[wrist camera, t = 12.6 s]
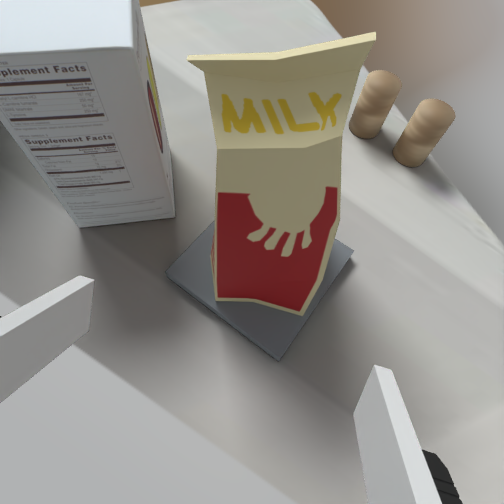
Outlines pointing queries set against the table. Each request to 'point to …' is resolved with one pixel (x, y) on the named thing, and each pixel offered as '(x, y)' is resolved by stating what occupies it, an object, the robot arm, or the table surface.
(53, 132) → the supplement box
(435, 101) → the posts
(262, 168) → the milk carton
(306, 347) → the table surface
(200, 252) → the mat
